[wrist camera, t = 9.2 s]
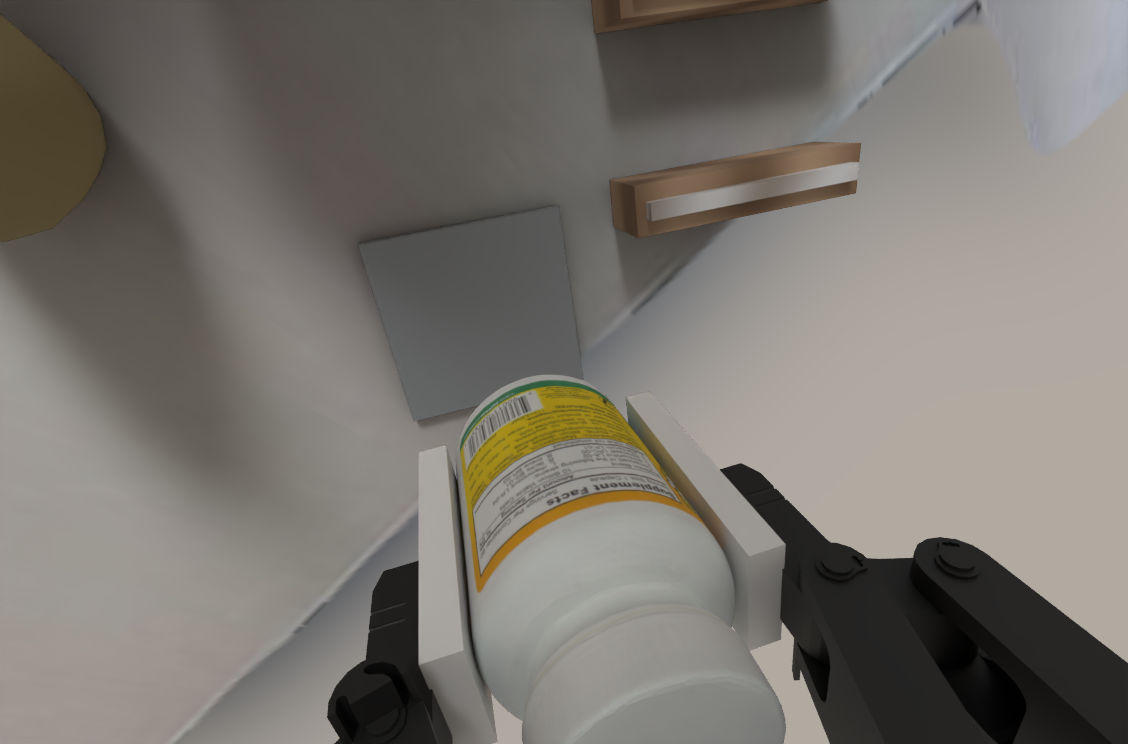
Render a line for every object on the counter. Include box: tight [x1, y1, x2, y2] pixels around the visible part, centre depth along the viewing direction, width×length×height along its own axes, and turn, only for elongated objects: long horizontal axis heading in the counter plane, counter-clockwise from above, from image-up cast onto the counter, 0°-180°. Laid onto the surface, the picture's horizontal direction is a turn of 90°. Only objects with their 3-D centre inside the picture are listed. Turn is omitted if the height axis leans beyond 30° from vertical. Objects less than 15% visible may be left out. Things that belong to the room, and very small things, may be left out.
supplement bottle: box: [456, 375, 786, 744], centre depth 12 cm, size 5×5×10 cm
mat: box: [358, 205, 583, 421], centre depth 28 cm, size 10×10×1 cm
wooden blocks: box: [591, 0, 861, 238], centre depth 25 cm, size 12×11×4 cm
